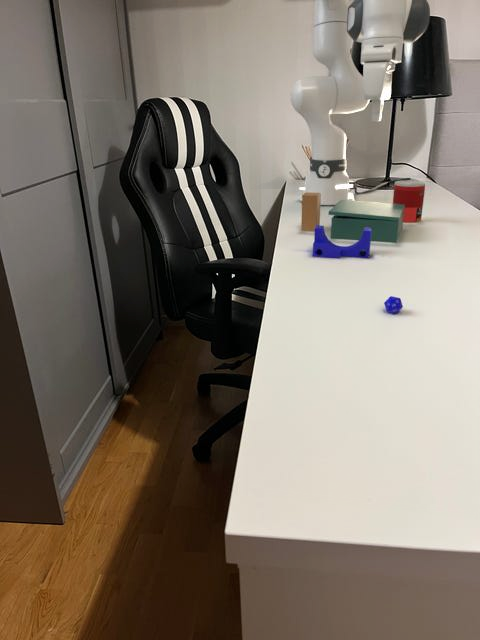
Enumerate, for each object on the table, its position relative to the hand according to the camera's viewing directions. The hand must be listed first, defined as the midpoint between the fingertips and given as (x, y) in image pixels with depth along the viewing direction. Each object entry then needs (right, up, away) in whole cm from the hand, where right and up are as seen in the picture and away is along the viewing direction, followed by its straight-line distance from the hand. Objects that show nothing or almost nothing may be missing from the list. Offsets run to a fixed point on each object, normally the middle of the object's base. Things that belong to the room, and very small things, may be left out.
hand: (376, 121), depth 117 cm
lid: (0, -19, +8) cm, 21 cm away
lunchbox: (+1, -25, +11) cm, 27 cm away
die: (-7, -45, -36) cm, 58 cm away
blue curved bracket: (-9, -32, -5) cm, 34 cm away
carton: (-13, -23, +16) cm, 31 cm away
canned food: (+15, -19, +23) cm, 34 cm away
